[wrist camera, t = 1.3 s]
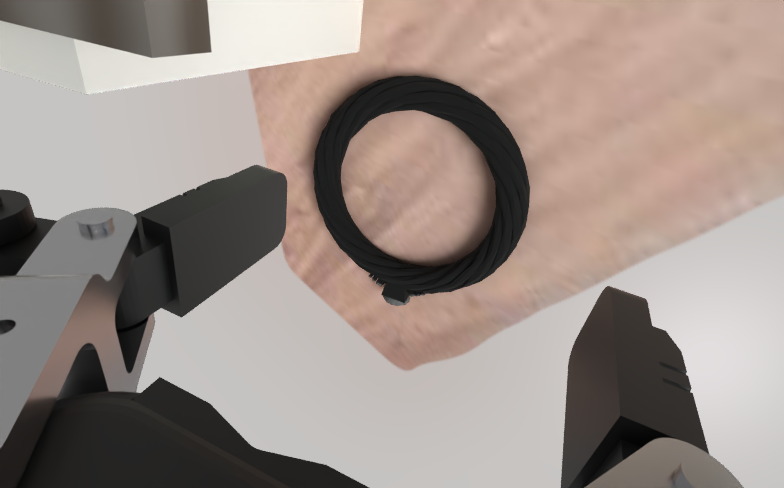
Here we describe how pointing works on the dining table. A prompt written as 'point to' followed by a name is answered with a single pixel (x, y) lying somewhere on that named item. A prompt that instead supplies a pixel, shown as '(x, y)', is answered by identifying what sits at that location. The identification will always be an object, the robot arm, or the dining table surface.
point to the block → (120, 23)
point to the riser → (229, 53)
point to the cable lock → (478, 127)
